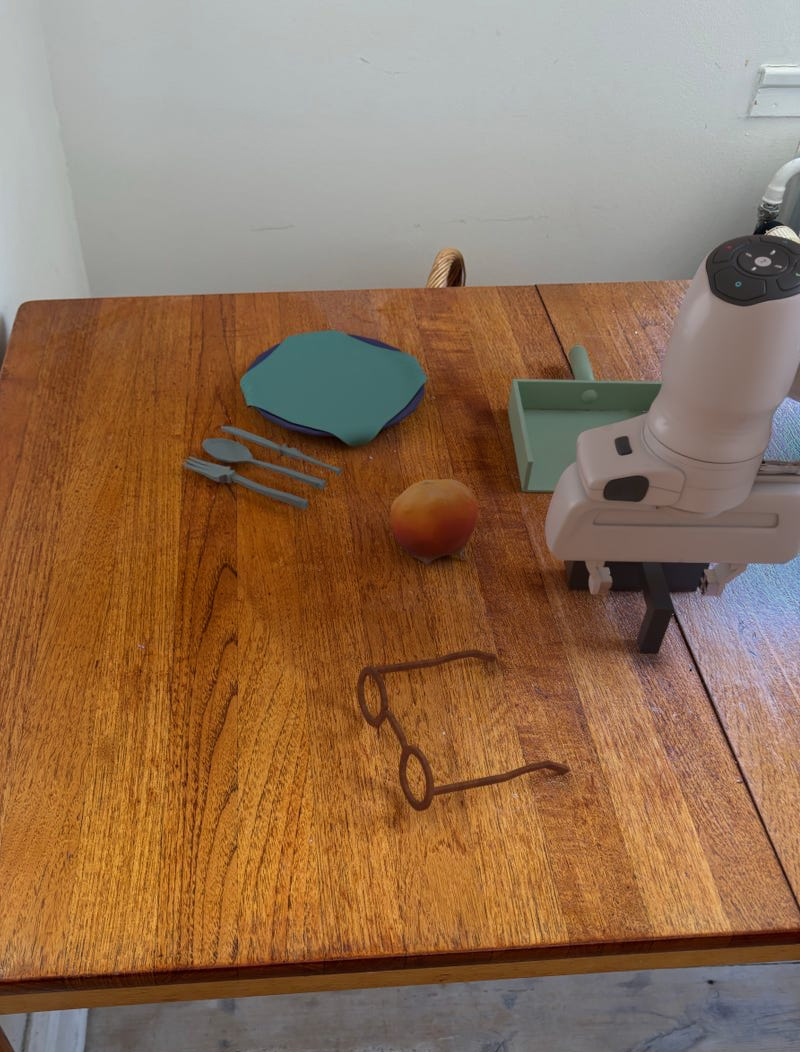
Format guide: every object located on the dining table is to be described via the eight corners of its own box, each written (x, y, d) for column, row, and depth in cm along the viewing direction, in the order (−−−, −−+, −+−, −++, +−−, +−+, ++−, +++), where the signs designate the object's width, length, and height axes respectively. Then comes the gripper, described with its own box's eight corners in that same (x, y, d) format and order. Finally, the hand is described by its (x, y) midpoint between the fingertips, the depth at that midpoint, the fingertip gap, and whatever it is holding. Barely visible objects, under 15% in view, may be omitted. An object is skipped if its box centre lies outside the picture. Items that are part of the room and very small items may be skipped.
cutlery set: (454, 379, 118) (456, 361, 117) (318, 527, 100) (318, 508, 99) (304, 330, 125) (304, 313, 123) (152, 461, 107) (150, 443, 106)
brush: (562, 568, 97) (572, 524, 93) (691, 570, 97) (707, 526, 93) (579, 651, 90) (591, 607, 86) (719, 654, 90) (738, 610, 86)
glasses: (352, 698, 86) (354, 658, 82) (494, 658, 89) (502, 617, 85) (418, 826, 77) (423, 787, 74) (572, 775, 81) (584, 736, 77)
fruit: (424, 583, 93) (408, 496, 91) (387, 569, 100) (372, 488, 98) (502, 558, 95) (488, 473, 93) (461, 547, 103) (447, 467, 100)
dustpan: (692, 495, 104) (702, 464, 102) (522, 492, 104) (528, 461, 102) (646, 366, 120) (654, 336, 118) (499, 363, 121) (503, 334, 118)
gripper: (821, 436, 81) (765, 567, 91) (558, 432, 81) (531, 563, 91) (848, 487, 77) (786, 619, 87) (570, 483, 77) (540, 614, 87)
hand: (653, 590), depth 89 cm, fingers open, 8 cm apart
